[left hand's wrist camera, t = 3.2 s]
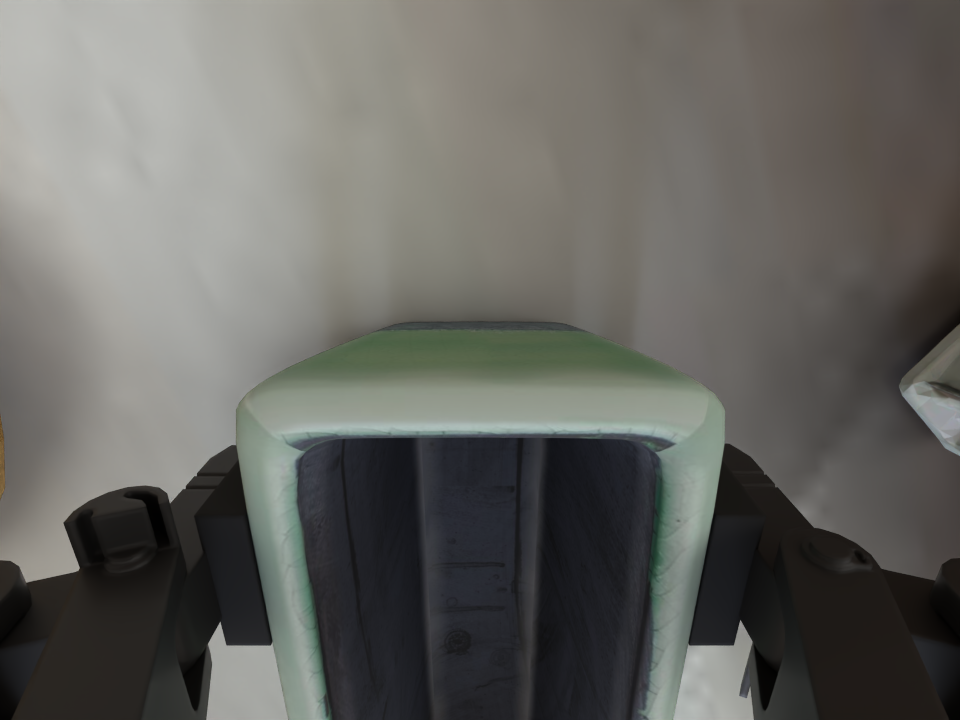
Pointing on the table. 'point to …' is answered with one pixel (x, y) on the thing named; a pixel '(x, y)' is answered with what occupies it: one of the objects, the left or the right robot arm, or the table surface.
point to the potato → (2, 461)
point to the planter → (480, 523)
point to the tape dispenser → (938, 390)
